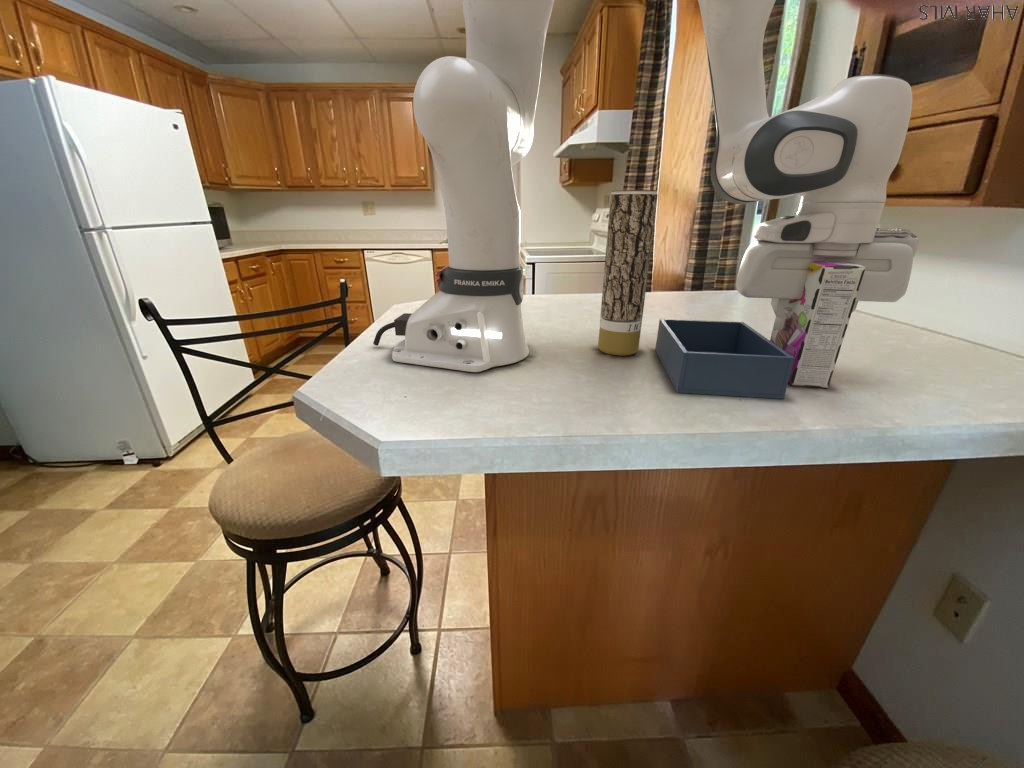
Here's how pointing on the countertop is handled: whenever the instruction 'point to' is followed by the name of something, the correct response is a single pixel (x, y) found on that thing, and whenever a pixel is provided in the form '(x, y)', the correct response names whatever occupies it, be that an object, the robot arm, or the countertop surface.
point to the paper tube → (626, 269)
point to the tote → (722, 359)
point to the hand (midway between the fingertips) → (804, 330)
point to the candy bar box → (819, 321)
